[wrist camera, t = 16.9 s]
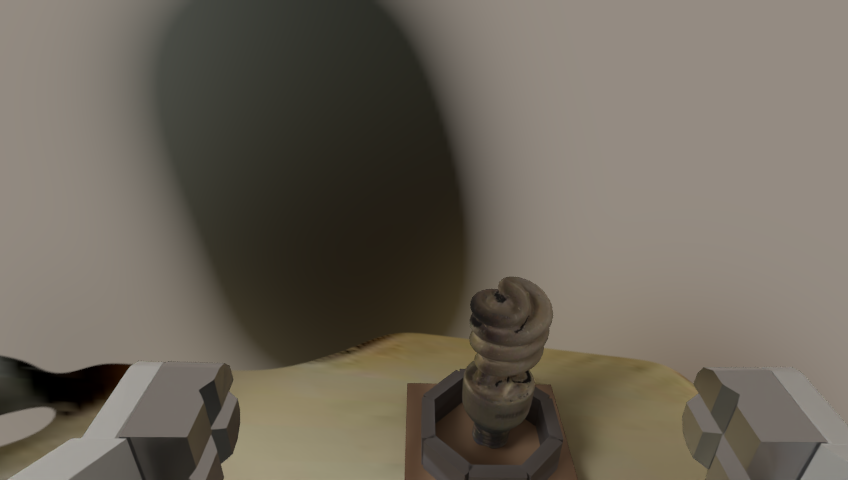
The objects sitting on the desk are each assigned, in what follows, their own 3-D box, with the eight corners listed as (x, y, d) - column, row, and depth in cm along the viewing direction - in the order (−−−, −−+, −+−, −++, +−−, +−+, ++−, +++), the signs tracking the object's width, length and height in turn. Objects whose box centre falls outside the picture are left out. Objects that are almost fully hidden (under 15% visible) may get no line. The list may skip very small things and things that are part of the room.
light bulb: (502, 409, 46) (523, 259, 39) (542, 457, 42) (574, 299, 35) (445, 431, 44) (456, 276, 37) (481, 484, 40) (502, 321, 32)
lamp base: (403, 533, 38) (403, 493, 36) (407, 395, 49) (407, 358, 47) (586, 534, 38) (597, 494, 36) (548, 396, 49) (555, 359, 47)
